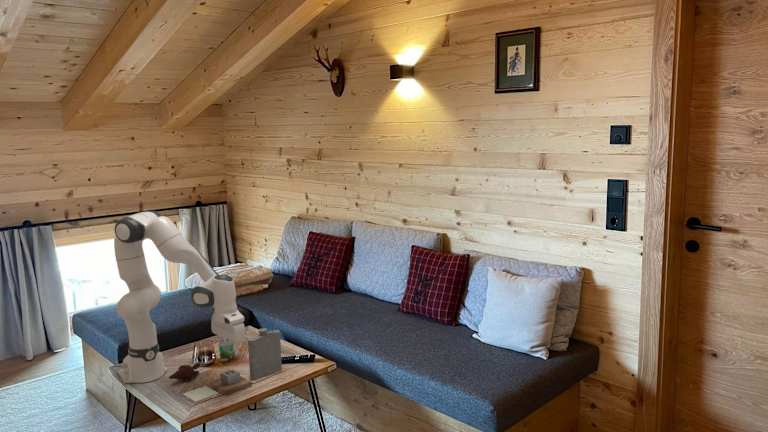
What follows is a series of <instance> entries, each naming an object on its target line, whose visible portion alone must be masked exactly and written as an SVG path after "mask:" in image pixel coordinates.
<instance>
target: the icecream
mask: <svg viewBox="0 0 768 432" xmlns="http://www.w3.org/2000/svg"><path fill="white" fill-rule="evenodd" d="M201 365H202V364H201V363H200V362H197V363H194V364H193V365H192V366H191V365H190V364H184V365H183V364H181V365H180V366H179V367H178V370H176V371H175V372H174V373H172V374H171V375H170V376H168V379H170V380H181V381H182V382H185V383H186V382H188V380H191V379H192V378H193V377H197V376H198V375H199V374H200V371H198V369H199V368H201Z"/></svg>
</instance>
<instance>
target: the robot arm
mask: <svg viewBox="0 0 768 432" xmlns="http://www.w3.org/2000/svg"><path fill="white" fill-rule="evenodd" d="M114 235H115V237H114V239H113V241H114V242H113V244H114V257H115V261H116V265H117V269H118V275H119V277H120V279H121V280H122V281H124V283H125V284H126V285H127V289H128V291H129V292H127V293H126V294H124V295H123V296H122V297H121V298H120V299H119V300H118V302H117V303H116V307H115V310H116V313H117V315H118V316H119V317H120V318H121V319H122V320H124V321H123V322H124V323H125V325H126V329H127V334H128V343H129V344H128V351H127V352H128V353H127V355H126V356H125V357H124V358H123V359H122V363H121V364H120V369H118V371H117V373H118V375H119V376H120V378H121V380H122V382H123V383H124V384H131V383H132V384H133V383H134V384H139V383H141V384H142V383H148V382H153V381H155V380H158V379H160V378H161V377H163V376H164V375H165V372H167V371H168V370H169V369H168V367H167V366H165V363H164V356H163V353H162V352H161V351H160V345H159V342H158V337H157V336H158V335H157V326H156V324H155V323H154V322H153V321H152V320H151V315H150V311H151V310H152V309H153V308H154V307H157V305H158V304H159V302H160V300H161V299H162V291H161V289H160V287H159V286H157V284H155V283H154V280H153V279H152V277H151V275H150V273H149V270H148V266H147V265H148V264H147V261H146V257H145V252H144V248H143V242H144V240H146V239H149V240H150V241H151V242H152V243H153V244H154V245H155V247H156V249H157V250H158V252H159V254H160V255H161V256H162V257H163V258H164V259H165V260H166V261H168V262H170V263H176V264H184V265H188V266H190V267H191V268H192V269H193V270H194V271H195V272H196V273H197V275H198V276H199V277H200V278H201V279H202V280H203V282H202V283H200V284H198V285H196V286H195V287H193V288H192V289H191V292H190V299H191V302H192V303H193V305H194V306H195V307H197V308H200V309H203V308H205V309H206V308H210V307H213V309H214V311H213V313H212V316H211V324H210V326H211V332H212V333H213V334H214V335H217V339H218V340H219V342H220V345H222V346H223V345H225V344H226V343H225V340H224V338H227V339H229V340H231V341H233V343H234V344H233V346H232V350H233V351H235V352H237V351H238V350H239V345H240V343H242V342H244V341H245V340H246V327H245V324H244V321H245V316H244V315H243V314H242V313H241V312H240V311H239V309H238V305H237V303H236V302H237V301H236V299H237V289H236V285H235V281H234V278H233V277H232V276H230V275H227V274H219V273H218V272H217V271H216V270H215V269H214V268H213V267H212V265H211V264H210V262H208V261H207V259H206V258H205V257H204V255H202V253H201V252H200V251H199V250H198V249H197V248H196V247H194V246H193V245H191V243H190V242H189V241H188V240H187V239H186V238H185V236H184V235H183V233H182V232H181V231H180V229H179V228H178V227H177V226H176V224H175V223H174V222H173V221H172V220H171V219H170V218H169V217H167V216H165V215H164V216H163V215H162V214H161V213H160V212H158V211H156V210H146V211H141V212H137V213H134V214H132V215H129V216H124V217H122V218H121V219H119V220H118V221H117V222H116V223H115V226H114Z"/></svg>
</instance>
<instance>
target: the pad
mask: <svg viewBox="0 0 768 432" xmlns="http://www.w3.org/2000/svg"><path fill="white" fill-rule="evenodd" d="M215 395H219V392H218V391H216V390H214V389H213V388H211V387H210V386H207V385H205V386H200V387H198V388H196V389H193V390H190V391H187V392H184V393H182V396H184V397H186V398H188V399H189V400H191V401H192V402H194V403H198V402H200V401H204V400H205V399H208V398H211V397H214V396H215Z"/></svg>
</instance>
